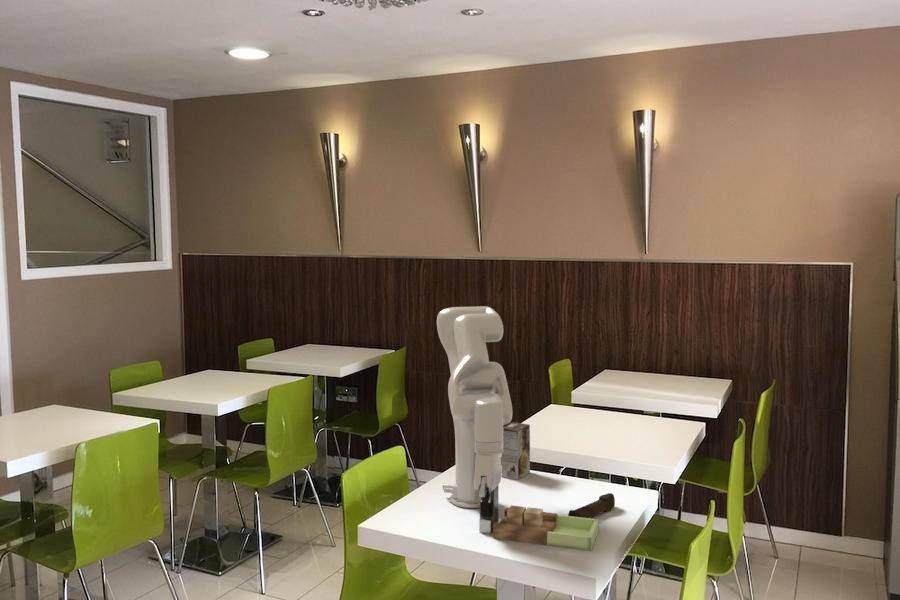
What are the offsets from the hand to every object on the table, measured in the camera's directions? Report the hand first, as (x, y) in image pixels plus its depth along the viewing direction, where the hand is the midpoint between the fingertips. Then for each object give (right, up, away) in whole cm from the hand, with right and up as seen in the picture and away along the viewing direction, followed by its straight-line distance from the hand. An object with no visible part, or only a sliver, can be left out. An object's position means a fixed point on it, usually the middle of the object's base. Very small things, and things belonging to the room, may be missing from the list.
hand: (489, 512), depth 204 cm
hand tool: (+29, -4, +9) cm, 31 cm away
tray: (+21, -5, -7) cm, 23 cm away
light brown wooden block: (+11, -2, -4) cm, 12 cm away
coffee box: (+11, 0, +45) cm, 46 cm away
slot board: (+9, -4, -3) cm, 11 cm away
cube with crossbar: (0, -4, 0) cm, 4 cm away
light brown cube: (+7, -2, -2) cm, 8 cm away
